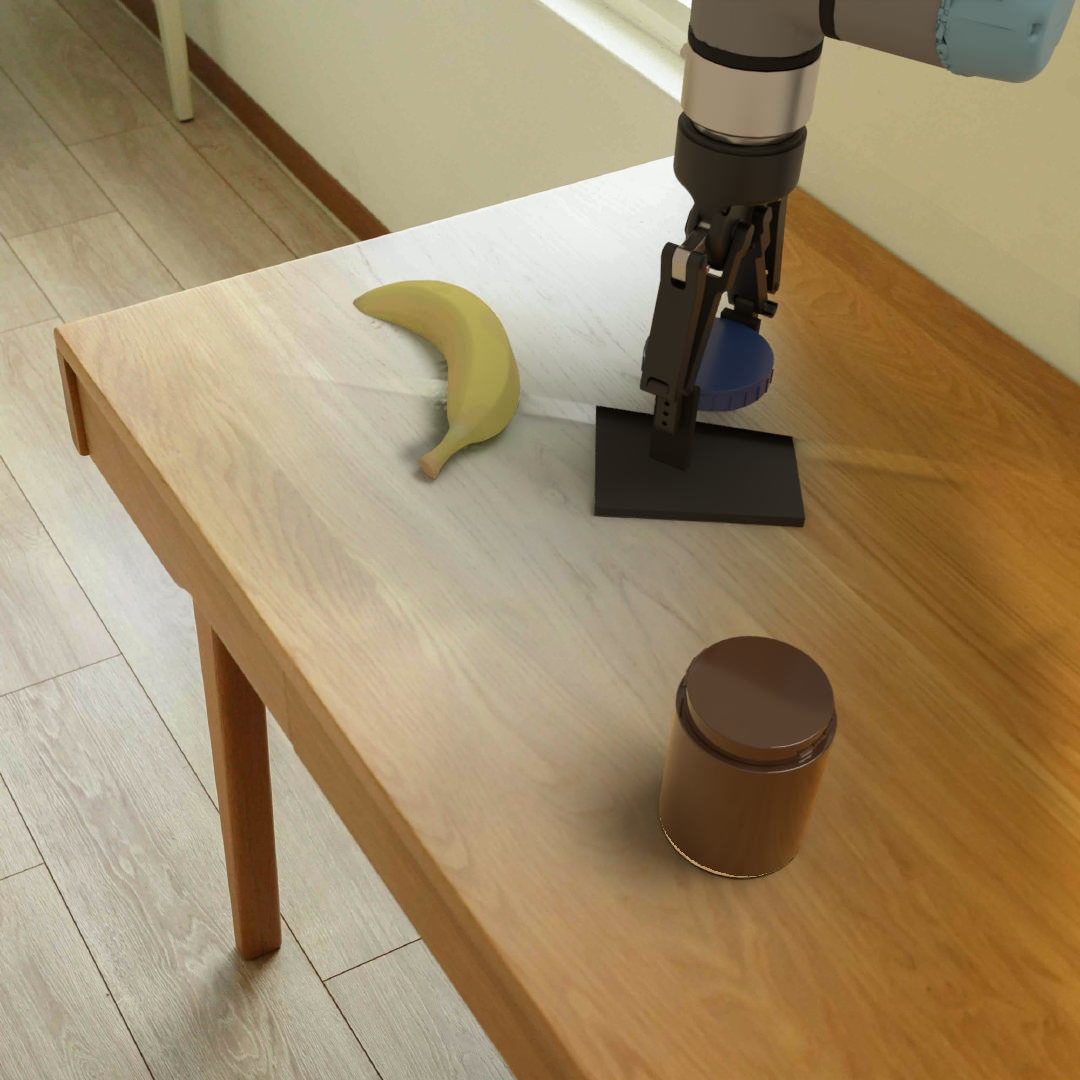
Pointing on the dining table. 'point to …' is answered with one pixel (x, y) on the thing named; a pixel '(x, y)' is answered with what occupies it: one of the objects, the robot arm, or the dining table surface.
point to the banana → (456, 357)
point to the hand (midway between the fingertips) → (700, 425)
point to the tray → (695, 474)
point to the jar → (746, 754)
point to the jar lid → (732, 367)
